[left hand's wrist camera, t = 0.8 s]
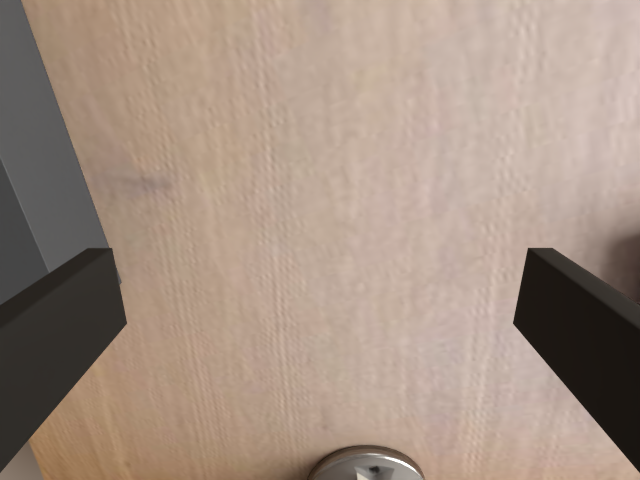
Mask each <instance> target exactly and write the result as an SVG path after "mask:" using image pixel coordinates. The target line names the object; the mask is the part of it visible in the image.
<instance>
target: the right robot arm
mask: <svg viewBox="0 0 640 480" xmlns="http://www.w3.org/2000/svg"><path fill="white" fill-rule="evenodd" d="M307 480H425V478H424V475H423V473H422V471H421V469H420V468H419V466H418V465H417V464H416V463H415V462H414V461H413V460H412V459H410V458H409V457H408V456H406V455H404V454H402V453H401V452H398V451H396V450H393V449H390V448H386V447H381V446H356V447H350V448H346V449H343V450H340V451H337V452H335V453H333V454H331V455H329V456H328V457H326V458H325V459H323V460H322V461H321V462H319V463H318V464H317V465H316V466H315V468H314V469H313V470H312V472H311V473H310V475H309V477H308V479H307Z"/></svg>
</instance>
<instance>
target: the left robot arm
mask: <svg viewBox="0 0 640 480" xmlns="http://www.w3.org/2000/svg"><path fill="white" fill-rule="evenodd" d="M126 324H127V321H126V316H125V311H124V306H123V301H122V296H121V291H120V286H119V281H118V276H117V271H116V266H115V261H114V256H113V251H112V248H87V249H85V250H84V251H82V252H81V253H79V254H78V255H76V256H75V257H73V258H72V259H70V260H69V261H67V262H66V263H64V264H62V265H61V266H59V267H58V268H56V269H55V270H53V271H52V272H50V273H49V274H47V275H46V276H44V277H43V278H41V279H40V280H38V281H36V282H35V283H33V284H32V285H30V286H29V287H27V288H26V289H24V290H23V291H21V292H20V293H18V294H17V295H15V296H13V297H12V298H10V299H9V300H7V301H6V302H4V303H3V304H1V305H0V472H1V471H2V470H3V469H4V468H5V467H6V465H7V464H8V463H9V462H10V461H11V460H12V458H13V457H14V456H15V455H16V454H17V452H18V451H19V450H20V449H21V448H22V447H23V445H24V444H25V443H26V442H27V441H28V439H29V438H30V437H31V436H32V435H33V434H34V432H35V431H36V430H37V429H38V428H39V427H40V425H41V424H42V423H43V422H44V421H45V419H46V418H47V417H48V416H49V415H50V414H51V412H52V411H53V410H54V409H55V408H56V407H57V405H58V404H59V403H60V402H61V401H62V399H63V398H64V397H65V396H66V395H67V394H68V392H69V391H70V390H71V389H72V388H73V386H74V385H75V384H76V383H77V382H78V381H79V379H80V378H81V377H82V376H83V375H84V374H85V372H86V371H87V370H88V369H89V368H90V366H91V365H92V364H93V363H94V362H95V361H96V359H97V358H98V357H99V356H100V355H101V354H102V352H103V351H104V350H105V349H106V348H107V346H108V345H109V344H110V343H111V342H112V341H113V339H114V338H115V337H116V336H117V335H118V333H119V332H120V331H121V330H122V329H123V328H124V326H125V325H126ZM513 324H514V325H515V326H516V328H517V329H518V330H519V331H520V332H521V333H522V335H523V336H524V337H525V338H526V339H527V341H528V342H529V343H530V344H531V345H532V346H533V348H534V349H535V350H536V351H537V352H538V354H539V355H540V356H541V357H542V358H543V359H544V361H545V362H546V363H547V364H548V365H549V366H550V368H551V369H552V370H553V371H554V372H555V374H556V375H557V376H558V377H559V378H560V379H561V381H562V382H563V383H564V384H565V385H566V386H567V388H568V389H569V390H570V391H571V392H572V394H573V395H574V396H575V397H576V398H577V399H578V401H579V402H580V403H581V404H582V405H583V407H584V408H585V409H586V410H587V411H588V412H589V414H590V415H591V416H592V417H593V418H594V419H595V421H596V422H597V423H598V424H599V425H600V427H601V428H602V429H603V430H604V431H605V432H606V434H607V435H608V436H609V437H610V438H611V440H612V441H613V442H614V443H615V444H616V445H617V447H618V448H619V449H620V450H621V451H622V452H623V454H624V455H625V456H626V457H627V458H628V460H629V461H630V462H631V463H632V464H633V465H634V467H635V468H636V469H637V470H638V471H639V472H640V305H639V304H637V303H636V302H634V301H633V300H631V299H630V298H628V297H627V296H625V295H623V294H622V293H620V292H619V291H617V290H616V289H614V288H613V287H611V286H610V285H608V284H607V283H605V282H604V281H602V280H600V279H599V278H597V277H596V276H594V275H593V274H591V273H590V272H588V271H587V270H585V269H584V268H582V267H581V266H579V265H578V264H576V263H574V262H573V261H571V260H570V259H568V258H567V257H565V256H564V255H562V254H561V253H559V252H558V251H556V250H555V249H553V248H528V251H527V256H526V261H525V266H524V271H523V276H522V281H521V286H520V291H519V296H518V301H517V306H516V311H515V316H514V321H513Z"/></svg>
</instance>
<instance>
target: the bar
mask: <svg viewBox="0 0 640 480" xmlns="http://www.w3.org/2000/svg"><path fill="white" fill-rule="evenodd" d="M87 248H109V246H108V243H107V240H106V237H105V235H104V232H103V229H102V226H101V223H100V221H99V218H98V215H97V212H96V209H95V207H94V204H93V201H92V198H91V195H90V193H89V190H88V187H87V184H86V182H85V179H84V176H83V173H82V170H81V168H80V165H79V162H78V159H77V156H76V154H75V151H74V148H73V145H72V142H71V140H70V137H69V134H68V131H67V128H66V126H65V123H64V120H63V117H62V114H61V112H60V109H59V106H58V103H57V100H56V98H55V95H54V92H53V89H52V86H51V84H50V81H49V78H48V75H47V72H46V70H45V67H44V64H43V61H42V58H41V56H40V53H39V50H38V47H37V45H36V42H35V39H34V36H33V33H32V31H31V28H30V25H29V22H28V19H27V17H26V14H25V11H24V8H23V5H22V3H21V0H0V305H1V304H3V303H4V302H6V301H7V300H9V299H10V298H12V297H13V296H15V295H17V294H18V293H20V292H21V291H23V290H24V289H26V288H27V287H29V286H30V285H32V284H33V283H35V282H36V281H38V280H40V279H41V278H43V277H44V276H46V275H47V274H49V273H50V272H52V271H53V270H55V269H56V268H58V267H59V266H61V265H62V264H64V263H66V262H67V261H69V260H70V259H72V258H73V257H75V256H76V255H78V254H79V253H81V252H82V251H84V250H85V249H87ZM115 266H116V265H115ZM116 271H117V268H116ZM117 276H118V281H119V285H120V284H121V283H122V282H121V279H120V277H119V274H118V271H117Z"/></svg>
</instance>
